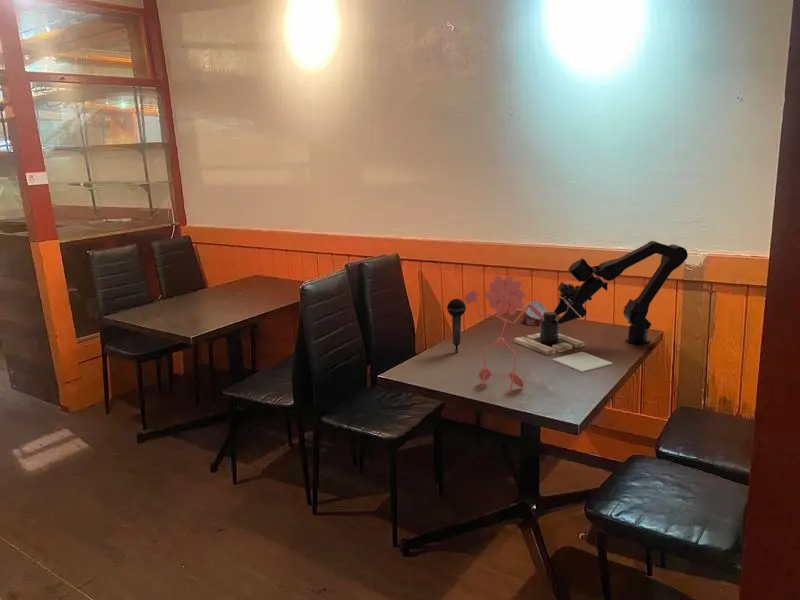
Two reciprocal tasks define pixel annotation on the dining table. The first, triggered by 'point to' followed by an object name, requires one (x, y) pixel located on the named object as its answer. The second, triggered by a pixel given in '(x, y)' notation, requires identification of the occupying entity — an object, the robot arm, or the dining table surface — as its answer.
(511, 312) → the figurine
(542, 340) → the supplement bottle
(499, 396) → the dining table surface
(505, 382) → the dining table surface
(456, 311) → the microphone
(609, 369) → the dining table surface
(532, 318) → the canned food
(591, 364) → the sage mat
